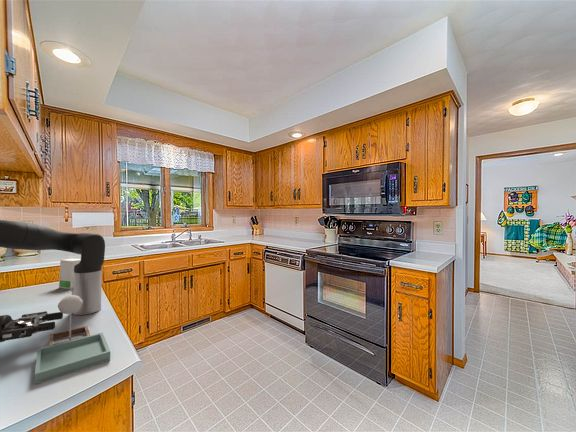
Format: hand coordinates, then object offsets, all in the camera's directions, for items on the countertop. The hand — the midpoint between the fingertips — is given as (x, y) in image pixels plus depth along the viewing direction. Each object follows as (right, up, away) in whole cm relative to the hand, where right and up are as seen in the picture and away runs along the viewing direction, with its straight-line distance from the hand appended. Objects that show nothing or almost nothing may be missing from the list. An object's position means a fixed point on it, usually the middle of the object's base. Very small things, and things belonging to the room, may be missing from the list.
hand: (58, 319), depth 79 cm
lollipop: (+2, -8, +1) cm, 8 cm away
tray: (+12, -8, -8) cm, 16 cm away
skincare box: (-48, -7, +59) cm, 77 cm away
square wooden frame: (+2, -8, +1) cm, 8 cm away
